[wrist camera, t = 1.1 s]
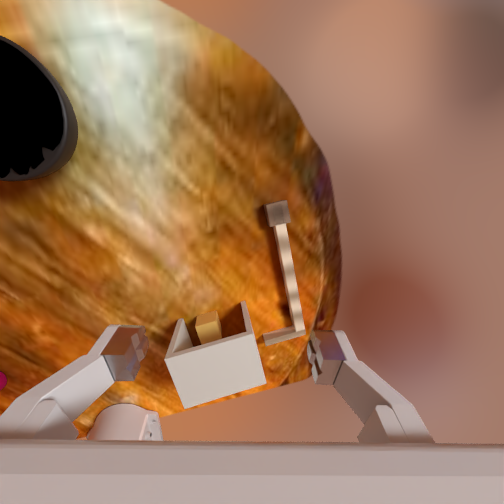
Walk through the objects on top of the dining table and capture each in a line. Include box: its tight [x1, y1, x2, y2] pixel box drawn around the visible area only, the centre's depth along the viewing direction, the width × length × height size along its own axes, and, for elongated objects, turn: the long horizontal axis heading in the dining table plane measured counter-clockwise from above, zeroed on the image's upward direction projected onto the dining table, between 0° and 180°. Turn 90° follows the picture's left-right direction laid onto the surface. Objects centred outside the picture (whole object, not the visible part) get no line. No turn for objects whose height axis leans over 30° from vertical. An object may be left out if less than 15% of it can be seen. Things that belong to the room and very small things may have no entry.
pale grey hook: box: [263, 200, 306, 346], centre depth 54 cm, size 35×12×3 cm, turn 13°
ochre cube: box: [195, 310, 222, 344], centre depth 54 cm, size 5×5×5 cm
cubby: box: [164, 301, 266, 409], centre depth 50 cm, size 12×17×14 cm
